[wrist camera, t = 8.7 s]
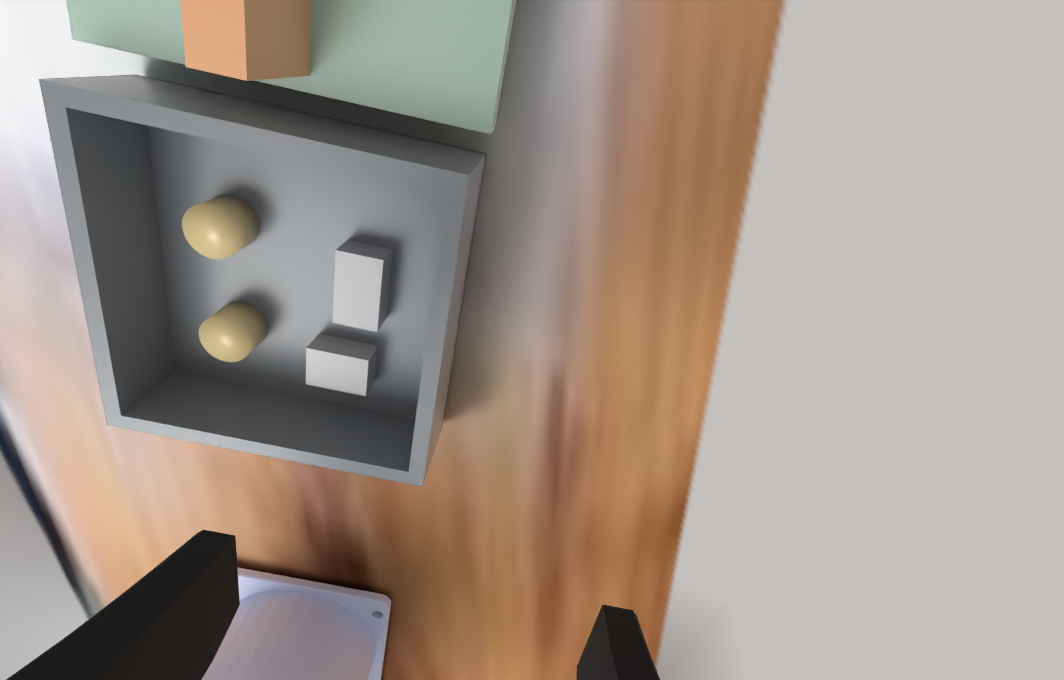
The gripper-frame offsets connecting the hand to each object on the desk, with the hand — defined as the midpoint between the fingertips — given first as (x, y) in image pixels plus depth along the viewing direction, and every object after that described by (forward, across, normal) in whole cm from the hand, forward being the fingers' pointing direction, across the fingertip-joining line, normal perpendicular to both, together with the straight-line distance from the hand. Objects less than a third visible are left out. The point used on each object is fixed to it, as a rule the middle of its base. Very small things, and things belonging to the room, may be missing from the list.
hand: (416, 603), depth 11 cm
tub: (+9, +6, -2) cm, 11 cm away
